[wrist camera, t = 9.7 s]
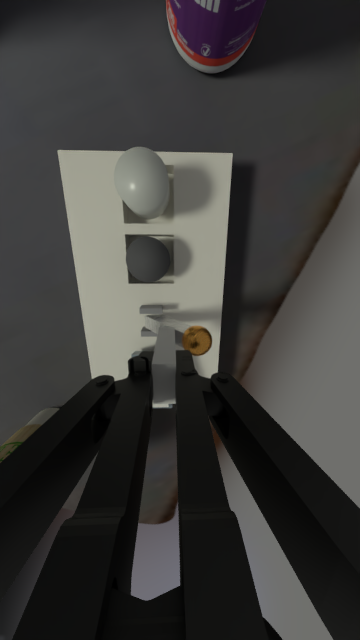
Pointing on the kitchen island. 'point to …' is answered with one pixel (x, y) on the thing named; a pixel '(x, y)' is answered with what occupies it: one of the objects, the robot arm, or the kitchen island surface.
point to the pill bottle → (213, 30)
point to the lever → (182, 333)
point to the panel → (170, 228)
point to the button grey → (142, 182)
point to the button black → (147, 259)
